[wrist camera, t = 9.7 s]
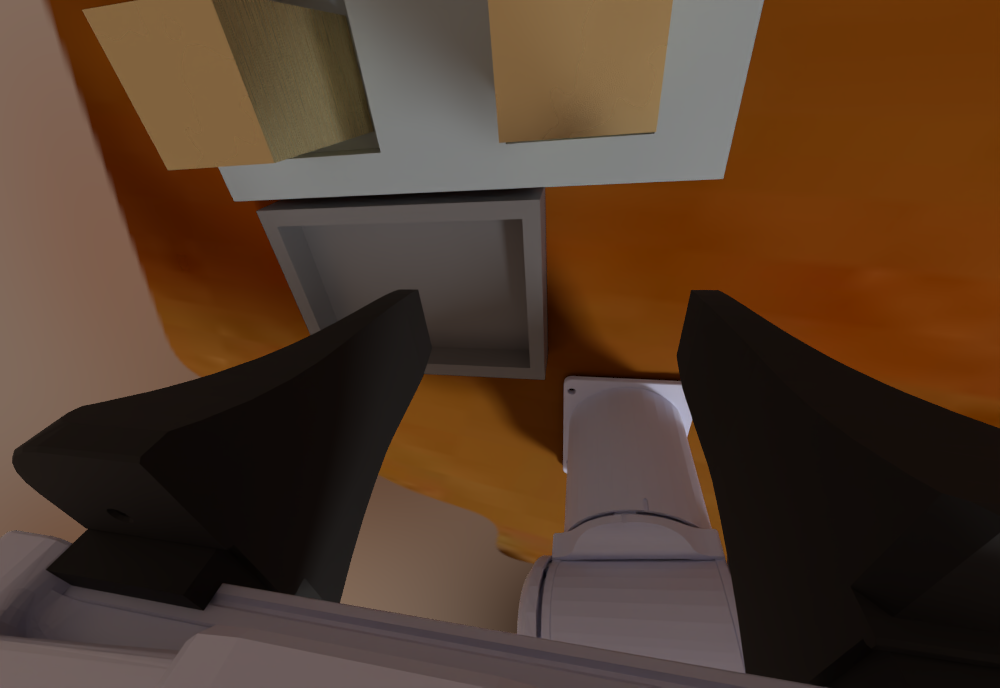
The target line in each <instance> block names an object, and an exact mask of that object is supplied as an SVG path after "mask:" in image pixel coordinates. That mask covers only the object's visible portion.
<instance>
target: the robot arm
mask: <svg viewBox="0 0 1000 688" xmlns="http://www.w3.org/2000/svg"><path fill="white" fill-rule="evenodd" d="M431 350H432V345H431V341H430V337H429V333H428V329H427V324H426V320H425V316H424V312H423V308H422V303H421V299H420V295H419V291H418V289H398V290H396V291H393V292H391V293H388V294H386V295H384V296H382V297H381V298H379V299H377V300H375V301H373V302H371V303H370V304H368V305H366V306H364V307H362V308H361V309H359V310H357V311H355V312H353V313H352V314H350V315H348V316H346V317H345V318H343V319H341V320H339V321H337V322H335V323H333V324H331V325H330V326H328V327H326V328H324V329H322V330H320V331H318V332H316V333H314V334H312V335H310V336H308V337H306V338H304V339H302V340H300V341H298V342H296V343H294V344H291V345H289V346H287V347H285V348H282V349H280V350H277V351H275V352H273V353H270V354H268V355H265V356H263V357H260V358H258V359H255V360H252V361H249V362H246V363H243V364H241V365H238V366H235V367H232V368H229V369H226V370H224V371H221V372H218V373H215V374H212V375H208V376H205V377H201V378H198V379H195V380H192V381H188V382H184V383H181V384H177V385H173V386H170V387H166V388H162V389H159V390H154V391H151V392H146V393H141V394H137V395H133V396H128V397H123V398H119V399H114V400H110V401H105V402H101V403H96V404H91V405H86V406H82V407H79V408H77V409H75V410H73V411H71V412H69V413H67V414H66V415H64V416H63V417H61V418H60V419H58V420H57V421H55V422H54V423H52V424H51V425H50V426H48V427H47V428H45V429H44V430H42V431H41V432H40V433H38V434H37V435H35V436H34V437H32V438H31V439H30V440H28V441H27V442H25V443H24V444H22V445H21V446H20V447H18V448H17V449H15V450H14V453H13V458H12V463H13V465H14V468H15V470H16V472H17V473H18V474H19V475H20V476H21V477H22V479H23V480H24V481H25V482H26V483H27V484H29V485H30V486H31V487H32V488H33V489H35V490H36V491H37V492H38V493H39V494H41V495H42V496H43V497H45V498H46V499H47V500H49V501H50V502H52V503H53V504H54V505H56V506H57V507H58V508H60V509H61V510H62V511H64V512H65V513H66V514H68V515H69V516H70V517H72V518H73V519H74V520H76V521H77V522H78V523H80V524H81V525H83V526H84V527H85V528H87V529H88V530H87V531H85V533H83V534H82V535H81V536H80V537H79V538H78V539H77V540H76V541H75V542H74V543H73V544H72V543H70V542H68V541H65V540H63V539H61V538H57V537H53V536H47V535H41V534H35V533H29V532H23V531H17V530H16V531H11V532H7V533H6V534H4V535H3V536H2V537H1V538H0V688H1000V428H997V427H994V426H991V425H988V424H986V423H983V422H980V421H977V420H975V419H972V418H969V417H966V416H964V415H961V414H958V413H955V412H953V411H950V410H948V409H945V408H943V407H940V406H938V405H935V404H932V403H930V402H927V401H925V400H922V399H920V398H917V397H915V396H912V395H910V394H907V393H905V392H903V391H900V390H898V389H896V388H893V387H891V386H889V385H886V384H884V383H882V382H880V381H878V380H875V379H873V378H871V377H869V376H867V375H865V374H863V373H861V372H858V371H856V370H854V369H852V368H850V367H848V366H846V365H844V364H842V363H840V362H838V361H836V360H834V359H832V358H830V357H828V356H826V355H825V354H823V353H821V352H819V351H817V350H816V349H814V348H812V347H810V346H809V345H807V344H805V343H803V342H801V341H800V340H798V339H796V338H795V337H793V336H791V335H790V334H788V333H786V332H785V331H783V330H781V329H780V328H778V327H777V326H775V325H773V324H772V323H770V322H769V321H767V320H766V319H764V318H762V317H761V316H759V315H758V314H756V313H755V312H753V311H752V310H750V309H749V308H747V307H746V306H744V305H742V304H741V303H739V302H738V301H736V300H735V299H733V298H731V297H730V296H728V295H726V294H725V293H723V292H721V291H719V290H691V294H690V298H689V303H688V307H687V312H686V316H685V321H684V325H683V330H682V334H681V339H680V343H679V348H678V352H677V361H678V367H679V373H680V379H681V381H669V380H647V379H626V378H605V377H583V376H569V377H566V378H565V380H564V417H563V471H564V472H565V473H567V486H566V508H565V530H564V532H563V533H555V534H554V536H553V550H552V556H541V557H540V558H538V560H537V561H536V562H535V564H534V566H533V568H532V570H531V571H530V572H529V574H528V575H527V577H526V580H525V582H524V585H523V589H522V593H521V598H520V604H519V612H518V627H517V634H514V633H508V632H503V631H497V630H491V629H485V628H480V627H474V626H467V625H462V624H457V623H450V622H444V621H439V620H433V619H427V618H422V617H416V616H410V615H404V614H398V613H393V612H387V611H381V610H376V609H370V608H364V607H358V606H352V605H347V604H341V603H340V600H341V596H342V593H343V589H344V585H345V581H346V577H347V573H348V570H349V565H350V562H351V558H352V554H353V551H354V548H355V544H356V541H357V538H358V534H359V531H360V527H361V524H362V520H363V517H364V514H365V511H366V508H367V505H368V502H369V499H370V496H371V493H372V490H373V487H374V484H375V481H376V479H377V476H378V473H379V471H380V468H381V465H382V462H383V460H384V457H385V454H386V452H387V449H388V447H389V445H390V443H391V440H392V438H393V436H394V434H395V432H396V430H397V428H398V426H399V424H400V422H401V420H402V418H403V416H404V414H405V412H406V410H407V408H408V406H409V404H410V402H411V400H412V398H413V396H414V394H415V392H416V390H417V388H418V386H419V384H420V382H421V379H422V377H423V375H424V372H425V369H426V366H427V363H428V360H429V356H430V353H431ZM571 388H572V389H575V390H569V389H571ZM692 419H693V422H694V425H695V428H696V431H697V434H698V437H699V440H700V443H701V446H702V449H703V452H704V455H705V458H706V461H707V464H708V467H709V471H710V474H711V478H712V482H713V486H714V491H715V496H716V500H717V505H718V510H719V514H720V519H721V524H722V530H723V535H724V540H725V545H726V551H727V563H726V560H725V556H724V552H723V549H722V545H721V542H720V538H719V534H718V531H717V530H716V529H712V528H711V524H710V521H709V517H708V513H707V510H706V506H705V502H704V499H703V495H702V491H701V487H700V484H699V480H698V476H697V473H696V469H695V465H694V462H693V458H692V454H691V450H690V447H689V443H688V439H687V436H688V433H689V429H690V425H691V422H692Z"/></svg>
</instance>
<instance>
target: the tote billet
mask: <svg viewBox="0 0 1000 688" xmlns="http://www.w3.org/2000/svg"><path fill="white" fill-rule="evenodd" d="M82 11H83V13H84V15H85V16H86V18H87V20H88V22H89V24H90V26H91V28H92V29H93V31H94V33H95V35H96V37H97V39H98V41H99V43H100V44H101V46H102V48H103V50H104V52H105V54H106V56H107V57H108V59H109V61H110V63H111V65H112V67H113V69H114V71H115V72H116V74H117V76H118V78H119V80H120V82H121V84H122V85H123V87H124V89H125V91H126V93H127V95H128V97H129V99H130V100H131V102H132V104H133V106H134V108H135V110H136V112H137V113H138V115H139V117H140V119H141V121H142V123H143V125H144V127H145V128H146V130H147V132H148V134H149V136H150V138H151V140H152V141H153V143H154V145H155V147H156V149H157V151H158V153H159V155H160V156H161V158H162V160H163V162H164V164H165V166H166V168H167V169H168V170H180V169H195V168H210V167H225V166H240V165H255V164H269V163H277V162H280V161H283V160H286V159H289V158H292V157H295V156H298V155H301V154H305V153H308V152H311V151H314V150H317V149H320V148H323V147H326V146H330V145H333V144H336V143H339V142H342V141H345V140H348V139H351V138H355V137H358V136H361V135H364V134H367V133H370V132H373V131H374V129H373V125H372V121H371V117H370V113H369V108H368V104H367V100H366V96H365V92H364V88H363V84H362V79H361V75H360V71H359V67H358V63H357V59H356V54H355V50H354V46H353V42H352V38H351V34H350V29H349V25H348V21H347V17H346V16H345V15H340V14H335V13H330V12H325V11H320V10H315V9H310V8H305V7H299V6H294V5H289V4H284V3H279V2H274V1H269V0H136V1H130V2H125V3H119V4H113V5H107V6H102V7H96V8H90V9H85V10H82Z"/></svg>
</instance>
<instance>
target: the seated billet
mask: <svg viewBox="0 0 1000 688" xmlns="http://www.w3.org/2000/svg"><path fill="white" fill-rule="evenodd" d="M672 4H673V0H488V9H489V22H490V35H491V47H492V60H493V73H494V85H495V98H496V111H497V123H498V136H499V143H505V142H519V141H533V140H547V139H562V138H576V137H590V136H605V135H619V134H633V133H647V132H656V130H657V123H658V115H659V107H660V99H661V91H662V83H663V75H664V67H665V60H666V52H667V44H668V36H669V28H670V20H671V12H672Z"/></svg>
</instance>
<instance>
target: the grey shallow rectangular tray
mask: <svg viewBox="0 0 1000 688" xmlns="http://www.w3.org/2000/svg"><path fill="white" fill-rule="evenodd" d="M256 212H257V214H258V216H259V219H260V221H261V223H262V225H263V228H264V230H265V232H266V234H267V237H268V239H269V241H270V244H271V246H272V248H273V250H274V253H275V255H276V257H277V259H278V262H279V264H280V266H281V269H282V271H283V273H284V275H285V278H286V280H287V282H288V285H289V287H290V289H291V291H292V294H293V296H294V298H295V300H296V303H297V305H298V307H299V310H300V312H301V314H302V316H303V319H304V321H305V323H306V325H307V328H308V330H309V332H310V335H312V334H314V333H316V332H318V331H320V330H322V329H324V328H326V327H328V326H330V325H331V324H333V323H335V322H337V321H339V320H341V319H343V318H345V317H346V316H348V315H350V314H352V313H353V312H355V311H357V310H359V309H361V308H362V307H364V306H366V305H368V304H370V303H371V302H373V301H375V300H377V299H379V298H381V297H382V296H384V295H386V294H388V293H391V292H393V291H396V290H398V289H418V291H419V295H420V299H421V303H422V308H423V312H424V316H425V320H426V324H427V329H428V333H429V337H430V341H431V345H432V350H431V353H430V356H429V360H428V363H427V366H426V369H425V372H424V374H437V375H457V376H478V377H498V378H518V379H538V380H545V374H546V367H547V359H548V318H547V267H546V215H545V187H534V188H513V189H491V190H470V191H448V192H427V193H405V194H384V195H362V196H341V197H319V198H298V199H282V200H280V201H277V202H275V203H273V204H271V205H269V206H266V207H264V208H262V209H260V210H257V211H256Z"/></svg>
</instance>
